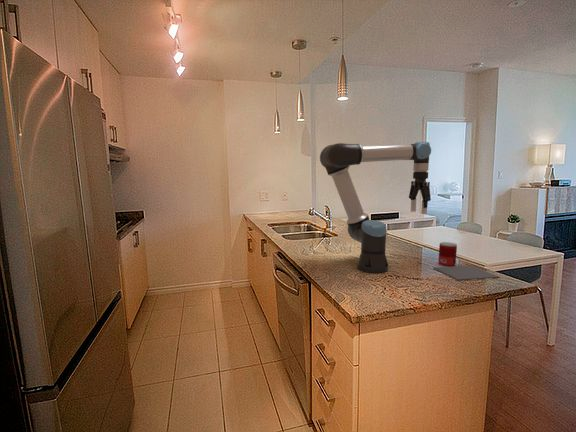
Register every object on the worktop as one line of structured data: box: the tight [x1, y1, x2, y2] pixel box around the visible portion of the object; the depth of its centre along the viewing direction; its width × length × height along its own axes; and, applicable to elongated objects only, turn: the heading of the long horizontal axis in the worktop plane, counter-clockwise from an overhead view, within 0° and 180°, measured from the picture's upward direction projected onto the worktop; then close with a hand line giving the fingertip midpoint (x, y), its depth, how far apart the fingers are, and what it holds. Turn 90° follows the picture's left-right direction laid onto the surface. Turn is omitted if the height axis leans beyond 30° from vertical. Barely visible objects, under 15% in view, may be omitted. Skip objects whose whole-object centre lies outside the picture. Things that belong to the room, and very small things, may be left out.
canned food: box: [438, 241, 458, 267], centre depth 166 cm, size 8×8×11 cm
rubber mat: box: [432, 265, 500, 282], centre depth 152 cm, size 21×18×1 cm
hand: (418, 212), depth 175 cm, fingers open, 10 cm apart
